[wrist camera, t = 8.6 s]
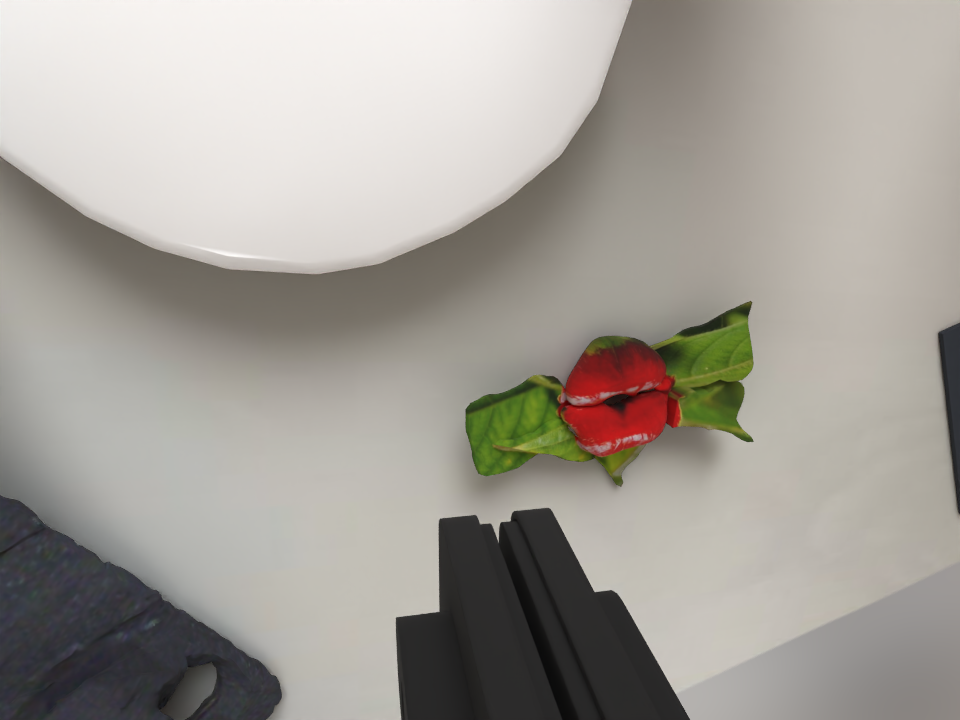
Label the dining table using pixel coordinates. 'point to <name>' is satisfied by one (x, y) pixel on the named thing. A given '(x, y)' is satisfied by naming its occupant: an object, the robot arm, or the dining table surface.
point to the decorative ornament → (632, 421)
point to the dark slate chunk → (103, 638)
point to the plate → (295, 116)
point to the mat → (952, 392)
